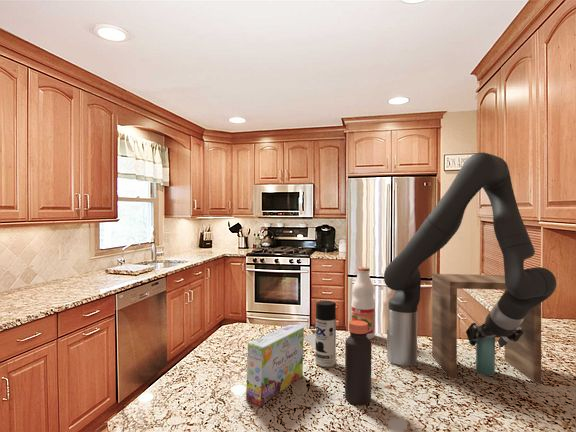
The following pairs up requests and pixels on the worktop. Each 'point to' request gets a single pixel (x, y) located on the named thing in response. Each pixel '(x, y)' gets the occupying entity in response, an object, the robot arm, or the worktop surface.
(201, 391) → the worktop surface
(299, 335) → the snack box
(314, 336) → the kitchen cleaver
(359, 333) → the bottle
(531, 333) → the walnut shelf
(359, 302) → the fruit juice
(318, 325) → the spray can
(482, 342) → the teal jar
